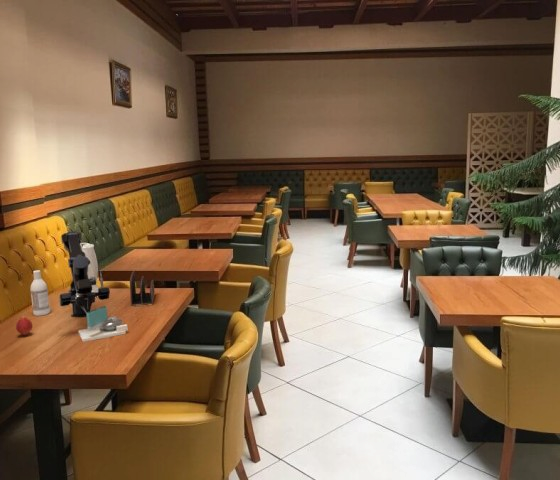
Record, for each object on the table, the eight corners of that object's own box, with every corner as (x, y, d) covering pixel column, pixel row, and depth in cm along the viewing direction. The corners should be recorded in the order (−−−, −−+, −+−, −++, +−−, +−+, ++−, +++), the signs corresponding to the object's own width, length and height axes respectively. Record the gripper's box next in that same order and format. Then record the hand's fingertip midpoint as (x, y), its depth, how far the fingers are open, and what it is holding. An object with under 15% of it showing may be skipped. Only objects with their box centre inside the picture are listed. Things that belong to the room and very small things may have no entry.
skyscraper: (92, 298, 256) (86, 243, 252) (81, 297, 260) (75, 242, 256) (105, 294, 263) (100, 240, 259) (94, 293, 267) (89, 240, 263)
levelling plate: (121, 324, 214) (120, 317, 214) (128, 333, 204) (127, 325, 203) (78, 332, 206) (77, 325, 206) (83, 342, 196) (82, 334, 195)
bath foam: (33, 312, 236) (28, 270, 233) (50, 310, 239) (45, 268, 236) (33, 316, 230) (27, 273, 227) (50, 314, 233) (44, 271, 229)
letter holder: (131, 307, 240) (128, 277, 237) (134, 296, 259) (132, 268, 257) (152, 305, 242) (150, 276, 239) (155, 294, 261) (152, 267, 258)
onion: (17, 338, 202) (14, 319, 201) (17, 334, 207) (14, 315, 206) (33, 335, 205) (31, 316, 203) (33, 331, 210) (30, 312, 208)
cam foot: (111, 321, 213) (109, 301, 212) (127, 324, 209) (125, 303, 207) (81, 333, 200) (79, 311, 198) (98, 336, 196) (95, 314, 194)
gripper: (57, 274, 200) (63, 308, 193) (106, 267, 209) (114, 300, 201) (57, 289, 208) (63, 322, 201) (104, 282, 217) (112, 314, 210)
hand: (88, 314), depth 203 cm, fingers closed
